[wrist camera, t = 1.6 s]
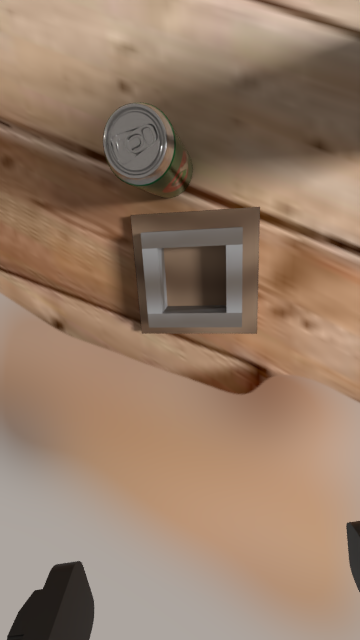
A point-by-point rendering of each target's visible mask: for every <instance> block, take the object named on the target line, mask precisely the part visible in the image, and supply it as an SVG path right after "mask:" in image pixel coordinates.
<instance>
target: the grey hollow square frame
mask: <svg viewBox="0 0 360 640" xmlns="http://www.w3.org/2000/svg"><path fill="white" fill-rule="evenodd" d="M259 224H260V207H252V208H236V209H221V210H205V211H189V212H174V213H158V214H143V215H131V225H132V236H133V246H134V256H135V267H136V277H137V287H138V297H139V308H140V318H141V328H142V333H235V334H257V310H258V267H259Z"/></svg>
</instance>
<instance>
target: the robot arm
mask: <svg viewBox="0 0 360 640" xmlns="http://www.w3.org/2000/svg"><path fill="white" fill-rule="evenodd" d="M346 527H347V539H348V551H349V561H350V568H351V571H352V575H353V577H354V580H355V583H356V585H357V587H358V590H359V592H360V521H356V522H349V523H347V526H346ZM93 620H94V600H93V596H92V593H91V590H90V587H89V583H88V580H87V577H86V574H85V571H84V567H83V565H82V563H81V562H80V561H77V562H71V563H63V564H57V565H55V566H54V567H53V568H52V569H51V571H50V573H49V575H48V578H47V580H46V583H45V585H44V587H43V589H41V590H35V591H34V592H33V594H32V595H31V596H30V597H29V599H28V600H27V601H26V603H25V604H24V605H23V607H22V608H21V610H20V611H19V612H18V615H17V617H16V619H15V621H14V623H13V625H12V627H11V630H10V632H9V634H8V636H7V640H89V638H90V634H91V630H92V625H93Z"/></svg>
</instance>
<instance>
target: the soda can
mask: <svg viewBox="0 0 360 640" xmlns="http://www.w3.org/2000/svg"><path fill="white" fill-rule="evenodd" d="M103 146H104V152H105V157H106V160H107V163H108V165H109V167H110V169H111V170H112V171H113V173H114V174H115V175H116V176H117V177H118V178H119V179H120V180H122V181H123V182H125V183H127V184H129V185H132V186H134V187H137V188H139V189H142V190H144V191H147V192H149V193H152V194H154V195H157V196H160V197H163V198H172V197H175V196H178V195H180V194H181V193H182V192H184V191H185V189H186V188H187V187H188V185H189V183H190V181H191V178H192V173H193V167H192V162H191V159H190V156H189V154H188V153H187V151H186V149H185V147H184V146H183V144H182V142H181V140H180V139H179V137H178V135H177V133H176V132H175V130H174V128H173V126H172V124H171V123H170V121H169V120H168V118H167V117H166V115H165V114H164V113H163V112H162V111H161V110H159V109H158V108H156V107H155V106H153V105H150V104H147V103H141V102H140V103H132V104H127V105H124V106H122V107H120V108H119V109H117V110H116V111H115V112H114V113H113V114H112V115H111V116H110V118H109V120H108V121H107V123H106V126H105V129H104V134H103Z"/></svg>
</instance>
